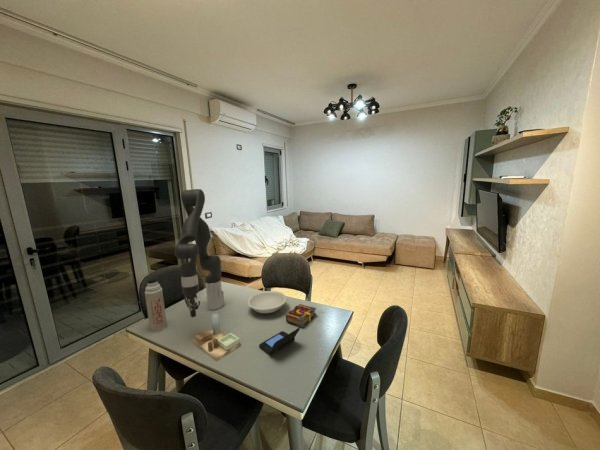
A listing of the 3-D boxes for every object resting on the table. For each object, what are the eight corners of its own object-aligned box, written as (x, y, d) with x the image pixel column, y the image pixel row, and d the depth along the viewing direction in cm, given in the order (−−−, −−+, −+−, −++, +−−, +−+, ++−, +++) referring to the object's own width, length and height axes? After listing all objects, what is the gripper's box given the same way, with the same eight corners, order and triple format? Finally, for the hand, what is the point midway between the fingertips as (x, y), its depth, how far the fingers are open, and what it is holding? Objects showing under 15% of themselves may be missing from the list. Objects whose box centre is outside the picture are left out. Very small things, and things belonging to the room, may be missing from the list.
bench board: (216, 329, 130) (215, 321, 129) (240, 345, 116) (240, 336, 115) (192, 342, 120) (191, 333, 119) (216, 360, 106) (215, 351, 106)
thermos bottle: (166, 330, 131) (160, 280, 126) (149, 334, 127) (142, 284, 122) (167, 323, 138) (161, 276, 133) (150, 327, 134) (144, 279, 129)
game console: (282, 332, 126) (282, 316, 124) (301, 344, 116) (300, 327, 114) (257, 347, 115) (256, 329, 114) (275, 361, 105) (274, 342, 104)
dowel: (217, 330, 127) (216, 312, 125) (221, 332, 125) (220, 314, 123) (211, 333, 124) (209, 315, 123) (215, 336, 122) (213, 317, 120)
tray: (231, 337, 121) (230, 332, 120) (239, 343, 116) (239, 338, 116) (218, 344, 115) (217, 340, 115) (226, 351, 111) (226, 346, 110)
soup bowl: (270, 324, 133) (270, 313, 132) (239, 313, 146) (238, 303, 145) (294, 305, 153) (294, 295, 152) (265, 297, 166) (264, 288, 165)
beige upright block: (207, 335, 123) (206, 329, 123) (212, 338, 120) (211, 333, 119) (195, 341, 119) (195, 335, 118) (200, 345, 115) (200, 339, 115)
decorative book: (285, 322, 135) (285, 314, 134) (300, 309, 149) (300, 301, 148) (302, 328, 129) (302, 319, 129) (317, 314, 143) (317, 306, 142)
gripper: (204, 284, 119) (207, 317, 121) (191, 278, 127) (194, 309, 130) (189, 289, 113) (192, 324, 115) (176, 283, 121) (179, 315, 124)
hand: (193, 316), depth 122 cm, fingers closed
